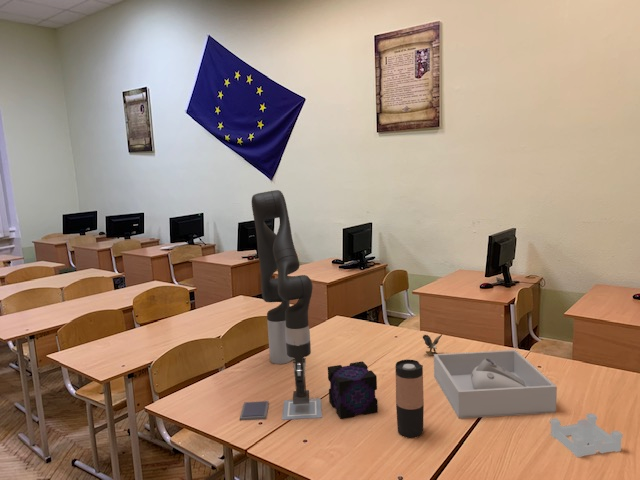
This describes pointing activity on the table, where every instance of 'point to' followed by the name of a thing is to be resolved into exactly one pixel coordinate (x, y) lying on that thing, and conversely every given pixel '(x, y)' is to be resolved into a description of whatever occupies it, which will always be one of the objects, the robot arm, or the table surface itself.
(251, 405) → the pad
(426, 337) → the eagle figurine
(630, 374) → the table surface
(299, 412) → the mat
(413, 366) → the travel mug
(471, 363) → the grey open tray
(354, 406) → the energy cube
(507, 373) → the grey curved piece
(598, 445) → the castle model
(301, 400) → the stamp
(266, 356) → the table surface
